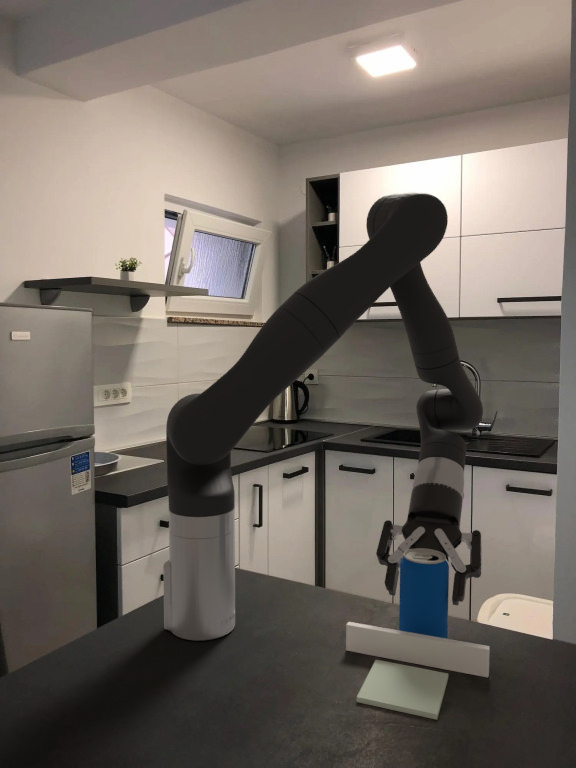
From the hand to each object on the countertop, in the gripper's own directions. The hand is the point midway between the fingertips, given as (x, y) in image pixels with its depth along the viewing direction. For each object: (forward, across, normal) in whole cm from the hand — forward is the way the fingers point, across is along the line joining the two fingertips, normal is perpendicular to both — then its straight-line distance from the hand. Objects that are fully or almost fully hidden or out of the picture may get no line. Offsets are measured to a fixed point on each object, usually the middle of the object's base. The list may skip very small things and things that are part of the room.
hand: (422, 598), depth 85 cm
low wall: (+8, 0, +1) cm, 8 cm away
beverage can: (+4, 0, +5) cm, 7 cm away
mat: (+13, 0, -4) cm, 14 cm away
